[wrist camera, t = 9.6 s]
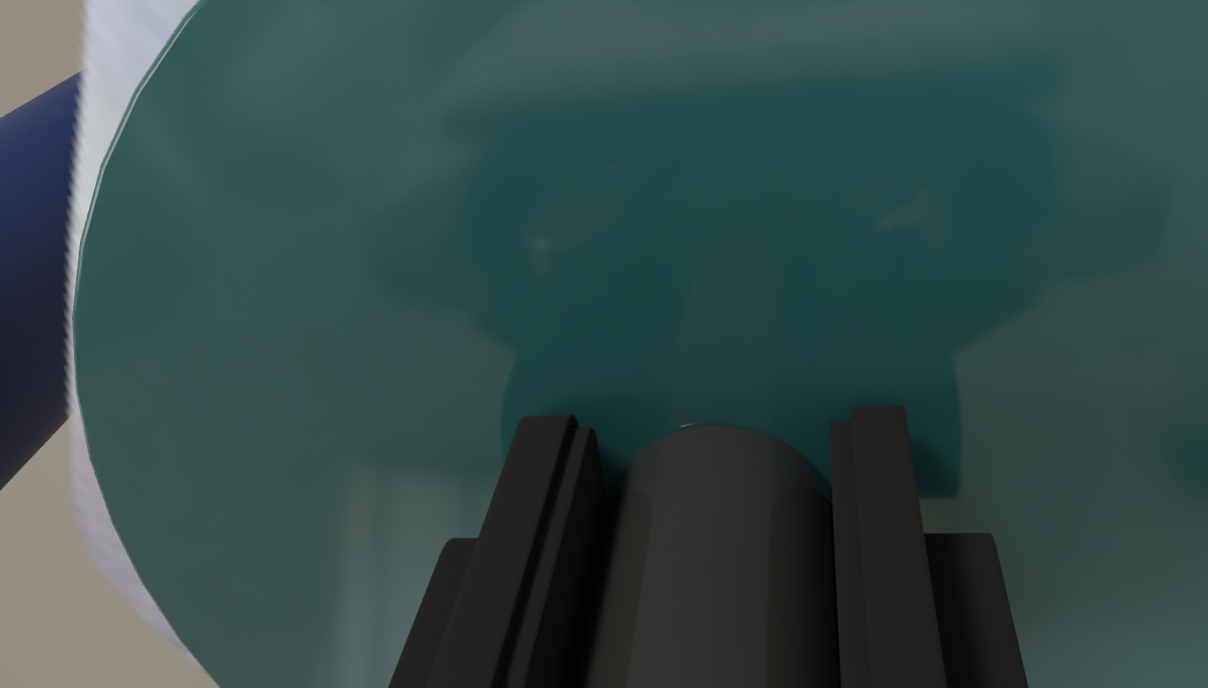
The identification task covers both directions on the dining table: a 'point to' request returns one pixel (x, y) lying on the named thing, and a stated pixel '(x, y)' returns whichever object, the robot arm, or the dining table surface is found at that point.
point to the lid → (656, 317)
